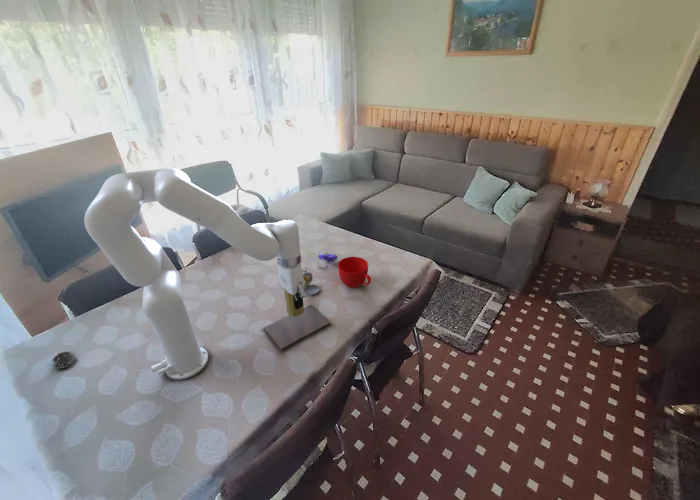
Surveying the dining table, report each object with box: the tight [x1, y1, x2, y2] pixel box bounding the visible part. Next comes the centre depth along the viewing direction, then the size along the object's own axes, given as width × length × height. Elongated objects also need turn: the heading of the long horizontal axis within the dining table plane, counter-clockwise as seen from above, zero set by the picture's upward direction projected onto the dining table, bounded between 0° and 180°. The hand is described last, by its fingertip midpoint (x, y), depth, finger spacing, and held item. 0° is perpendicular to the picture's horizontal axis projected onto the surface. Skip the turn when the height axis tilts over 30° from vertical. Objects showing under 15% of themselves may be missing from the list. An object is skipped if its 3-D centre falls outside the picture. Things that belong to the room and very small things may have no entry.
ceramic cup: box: [337, 256, 372, 289], centre depth 137 cm, size 13×17×10 cm
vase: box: [284, 289, 305, 317], centre depth 110 cm, size 6×6×14 cm
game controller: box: [317, 248, 338, 269], centre depth 154 cm, size 10×8×10 cm
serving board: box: [263, 304, 330, 352], centre depth 118 cm, size 20×13×1 cm, turn 129°
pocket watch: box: [302, 267, 320, 296], centre depth 135 cm, size 8×8×10 cm
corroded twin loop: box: [51, 351, 74, 370], centre depth 104 cm, size 5×8×1 cm, turn 49°
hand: (294, 302), depth 112 cm, fingers closed on vase, 5 cm apart
